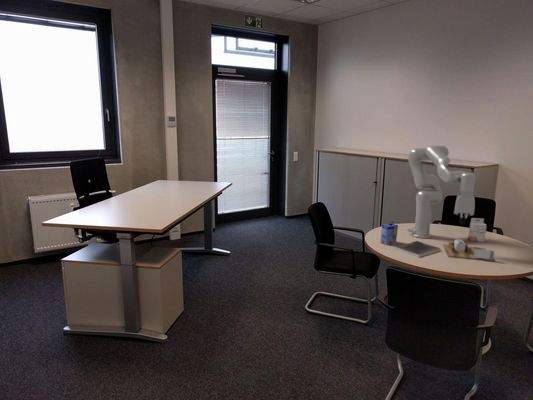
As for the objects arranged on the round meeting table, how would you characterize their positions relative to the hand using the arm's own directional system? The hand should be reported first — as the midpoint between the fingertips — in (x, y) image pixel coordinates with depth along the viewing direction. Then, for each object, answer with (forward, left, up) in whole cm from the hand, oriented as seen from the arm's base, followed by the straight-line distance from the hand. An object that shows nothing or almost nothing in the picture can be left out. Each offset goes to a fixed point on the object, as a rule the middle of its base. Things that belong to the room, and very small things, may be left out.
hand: (462, 224), depth 234 cm
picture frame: (-24, -5, -18) cm, 31 cm away
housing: (+4, -2, -17) cm, 18 cm away
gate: (+10, -12, -16) cm, 23 cm away
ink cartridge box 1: (-41, +4, -17) cm, 45 cm away
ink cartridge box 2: (+15, +27, -17) cm, 35 cm away
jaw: (0, 0, -16) cm, 16 cm away
